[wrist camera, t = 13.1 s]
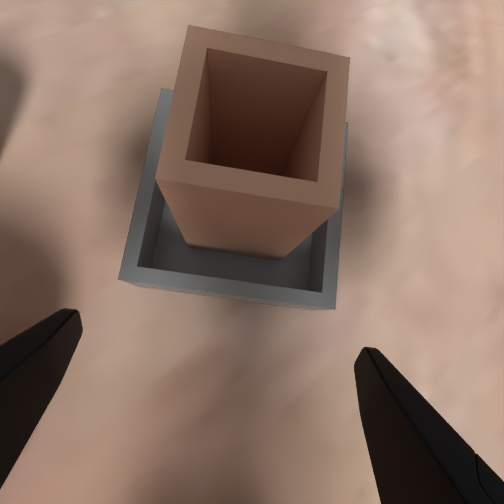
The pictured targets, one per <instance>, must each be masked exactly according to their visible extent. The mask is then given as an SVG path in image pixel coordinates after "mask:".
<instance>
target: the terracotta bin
mask: <svg viewBox="0 0 504 504" xmlns="http://www.w3.org/2000/svg"><path fill="white" fill-rule="evenodd" d="M349 63H350V57H345V56H340V55H335V54H330V53H325V52H320V51H316V50H311V49H306V48H301V47H296V46H291V45H286V44H281V43H276V42H271V41H266V40H261V39H256V38H251V37H246V36H241V35H236V34H231V33H226V32H221V31H216V30H212V29H207V28H202V27H197V26H192V25H188V29H187V33H186V38H185V42H184V47H183V52H182V56H181V61H180V65H179V70H178V75H177V79H176V84H175V89H174V93H173V98H172V102H171V107H170V112H169V116H168V121H167V125H166V130H165V135H164V139H163V144H162V149H161V153H160V158H159V162H158V167H157V172H156V176H155V179H156V182H157V184H158V186H159V188H160V190H161V192H162V194H163V196H164V198H165V200H166V202H167V204H168V206H169V208H170V210H171V212H172V214H173V217H174V219H175V221H176V223H177V225H178V227H179V229H180V231H181V233H182V235H183V237H184V239H185V241H186V243H187V245H188V247H189V248H196V249H202V250H209V251H216V252H223V253H229V254H236V255H243V256H250V257H256V258H263V259H270V260H277V261H281V260H282V259H283V258H284V257H285V256H287V255H288V254H289V253H290V252H291V251H292V250H293V249H294V248H295V247H297V246H298V245H299V244H300V243H301V242H302V241H303V240H304V239H306V238H307V237H308V236H309V235H310V234H311V233H312V232H313V231H315V230H316V229H317V228H318V227H319V226H320V225H321V224H322V223H324V222H325V221H326V220H327V219H328V218H329V217H330V216H331V215H333V214H334V213H335V212H336V211H337V210H338V209H339V204H340V190H341V176H342V162H343V148H344V134H345V120H346V105H347V91H348V77H349Z"/></svg>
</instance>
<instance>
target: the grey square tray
mask: <svg viewBox="0 0 504 504" xmlns="http://www.w3.org/2000/svg"><path fill="white" fill-rule="evenodd" d="M173 93H174V90H169V89H164V88H161V92H160V96H159V101H158V105H157V110H156V114H155V118H154V123H153V127H152V132H151V136H150V140H149V145H148V149H147V154H146V158H145V162H144V167H143V171H142V176H141V180H140V184H139V189H138V193H137V197H136V202H135V206H134V211H133V215H132V219H131V224H130V228H129V233H128V237H127V241H126V246H125V250H124V255H123V259H122V263H121V268H120V272H119V277H118V280H121V281H124V282H127V283H130V284H133V285H136V286H139V287H147V288H154V289H161V290H168V291H176V292H183V293H190V294H198V295H205V296H212V297H220V298H227V299H234V300H241V301H249V302H256V303H263V304H271V305H278V306H285V307H293V308H300V309H307V310H334V309H335V306H336V291H337V277H338V262H339V248H340V233H341V218H342V204H343V189H344V175H345V160H346V145H347V131H348V123H347V122H345V134H344V148H343V162H342V176H341V190H340V204H339V209H338V210H337V211H336V212H335V213H334V214H333V215H331V216H330V217H329V218H328V219H327V220H326V221H325V222H324V223H322V224H321V225H320V226H319V227H318V228H317V229H316V230H315V231H313V232H312V233H311V234H310V235H309V236H308V237H307V238H306V239H304V240H303V241H302V242H301V243H300V244H299V245H298V246H297V247H295V248H294V249H293V250H292V251H291V252H290V253H289V254H288V255H287V256H285V257H284V258H283V259H282V260H281V261H277V260H270V259H263V258H256V257H250V256H243V255H236V254H229V253H223V252H216V251H209V250H202V249H196V248H189V247H188V245H187V243H186V241H185V239H184V237H183V235H182V233H181V231H180V229H179V227H178V225H177V223H176V221H175V219H174V217H173V214H172V212H171V210H170V208H169V206H168V204H167V202H166V200H165V198H164V196H163V194H162V192H161V190H160V188H159V186H158V184H157V182H156V179H155V176H156V172H157V167H158V162H159V158H160V153H161V149H162V144H163V139H164V135H165V130H166V125H167V121H168V116H169V112H170V107H171V102H172V98H173Z"/></svg>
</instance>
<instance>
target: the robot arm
mask: <svg viewBox="0 0 504 504" xmlns="http://www.w3.org/2000/svg"><path fill="white" fill-rule="evenodd" d="M82 331H83V327H82V322H81V318H80V313H79V311H78V310H76V309H68V308H64V309H61V310H59V311H58V312H56V313H54V314H52V315H51V316H49V317H47V318H46V319H44V320H42V321H41V322H39V323H37V324H36V325H34V326H32V327H30V328H29V329H27V330H25V331H24V332H22V333H20V334H19V335H17V336H15V337H14V338H12V339H10V340H8V341H7V342H5V343H3V344H2V345H0V489H1V487H2V485H3V484H4V482H5V480H6V478H7V477H8V475H9V473H10V471H11V470H12V468H13V466H14V464H15V463H16V461H17V459H18V457H19V456H20V454H21V452H22V450H23V449H24V447H25V445H26V443H27V442H28V440H29V438H30V436H31V435H32V433H33V431H34V429H35V427H36V426H37V424H38V422H39V420H40V419H41V417H42V415H43V413H44V412H45V410H46V408H47V406H48V405H49V403H50V401H51V399H52V398H53V396H54V394H55V392H56V391H57V389H58V387H59V385H60V383H61V381H62V379H63V377H64V375H65V372H66V370H67V368H68V365H69V363H70V361H71V358H72V356H73V354H74V352H75V349H76V347H77V345H78V342H79V340H80V338H81V335H82ZM354 372H355V380H356V387H357V395H358V403H359V410H360V416H361V421H362V426H363V430H364V434H365V438H366V442H367V447H368V451H369V455H370V459H371V463H372V468H373V472H374V476H375V480H376V484H377V489H378V493H379V497H380V501H381V504H504V481H503V480H502V479H501V478H500V477H499V476H498V475H497V474H496V473H495V472H494V471H493V470H492V469H491V468H490V467H489V466H488V465H487V464H486V463H485V462H484V461H483V459H482V458H481V457H480V456H479V455H478V454H475V452H474V450H473V449H472V448H471V447H470V446H469V445H468V444H467V443H466V442H465V441H464V440H463V438H462V437H461V436H460V435H459V434H458V433H457V432H456V431H455V430H454V429H453V428H452V427H451V426H450V425H449V424H448V423H447V422H446V420H445V419H444V418H443V417H442V416H441V415H440V414H439V413H438V412H437V411H436V410H435V409H434V408H433V407H432V406H431V405H430V404H429V403H428V401H427V400H426V399H425V398H424V397H423V396H422V395H421V394H420V393H419V392H418V391H417V390H416V389H415V388H414V387H413V386H412V385H411V384H410V382H409V381H408V380H407V379H406V378H405V377H404V376H403V375H402V374H401V373H400V372H399V371H398V370H397V369H396V368H395V367H394V366H393V365H392V363H391V362H390V361H389V360H388V359H387V358H386V357H385V356H384V355H383V354H382V353H381V352H380V351H379V350H378V349H376V348H372V347H364V348H363V349H362V350H361V352H360V354H359V356H358V358H357V359H356V361H355V364H354Z"/></svg>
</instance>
